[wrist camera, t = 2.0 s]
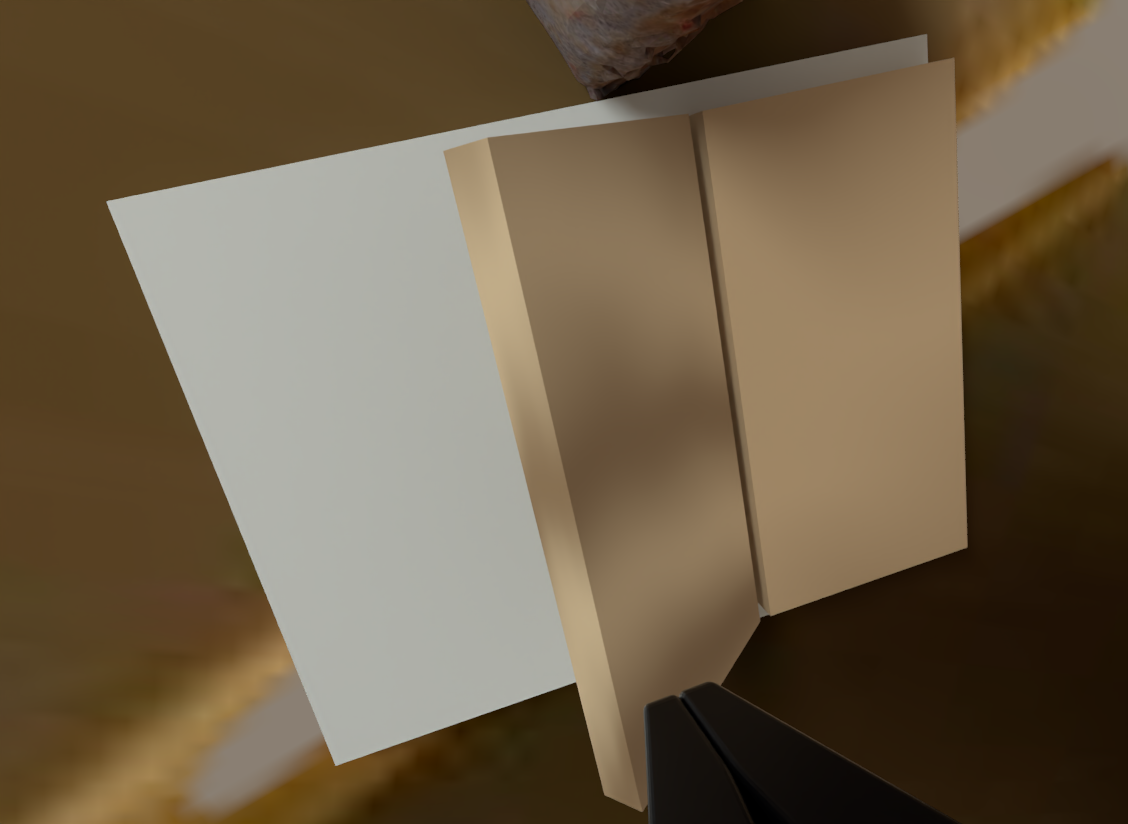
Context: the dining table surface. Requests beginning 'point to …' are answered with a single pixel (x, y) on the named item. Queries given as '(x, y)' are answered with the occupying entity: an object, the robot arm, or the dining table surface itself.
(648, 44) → the food item
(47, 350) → the dining table surface
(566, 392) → the click plank
